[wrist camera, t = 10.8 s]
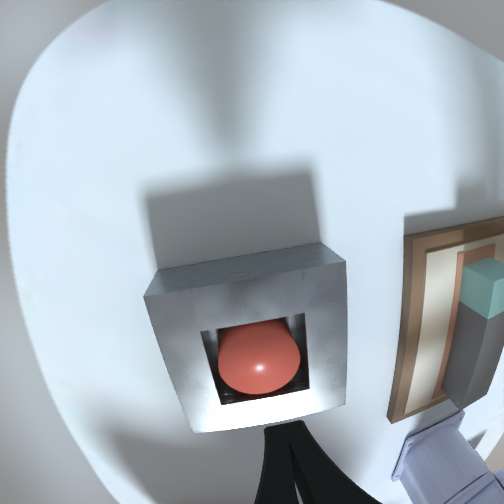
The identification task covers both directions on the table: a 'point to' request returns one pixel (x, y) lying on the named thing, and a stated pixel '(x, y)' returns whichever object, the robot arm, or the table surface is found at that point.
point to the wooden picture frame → (434, 308)
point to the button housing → (249, 311)
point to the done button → (257, 356)
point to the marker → (476, 333)
